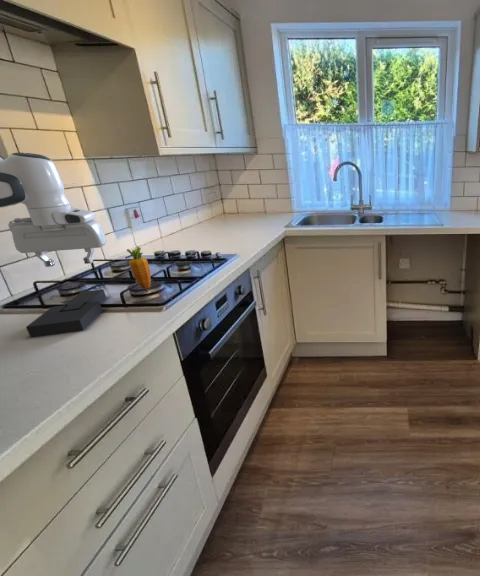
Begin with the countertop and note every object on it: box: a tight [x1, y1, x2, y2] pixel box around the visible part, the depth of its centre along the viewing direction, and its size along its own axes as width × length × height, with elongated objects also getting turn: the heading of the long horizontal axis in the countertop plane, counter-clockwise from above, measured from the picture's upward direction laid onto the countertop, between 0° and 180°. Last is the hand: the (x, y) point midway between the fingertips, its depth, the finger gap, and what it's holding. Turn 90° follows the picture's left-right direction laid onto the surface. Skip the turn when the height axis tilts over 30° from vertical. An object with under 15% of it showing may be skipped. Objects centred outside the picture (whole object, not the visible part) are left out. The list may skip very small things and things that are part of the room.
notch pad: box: [25, 302, 104, 338], centre depth 98 cm, size 12×12×3 cm
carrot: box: [126, 246, 152, 292], centre depth 115 cm, size 5×5×15 cm
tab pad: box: [62, 288, 107, 312], centre depth 106 cm, size 6×14×3 cm, turn 16°
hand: (70, 264), depth 103 cm, fingers open, 8 cm apart
